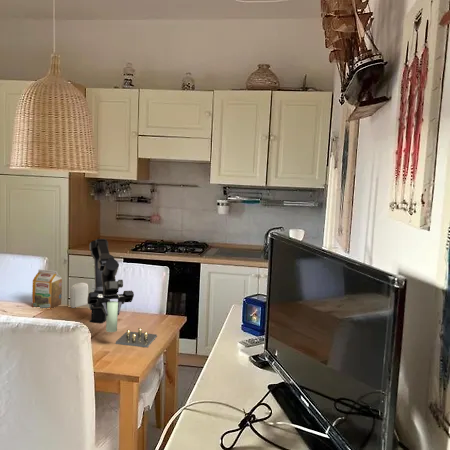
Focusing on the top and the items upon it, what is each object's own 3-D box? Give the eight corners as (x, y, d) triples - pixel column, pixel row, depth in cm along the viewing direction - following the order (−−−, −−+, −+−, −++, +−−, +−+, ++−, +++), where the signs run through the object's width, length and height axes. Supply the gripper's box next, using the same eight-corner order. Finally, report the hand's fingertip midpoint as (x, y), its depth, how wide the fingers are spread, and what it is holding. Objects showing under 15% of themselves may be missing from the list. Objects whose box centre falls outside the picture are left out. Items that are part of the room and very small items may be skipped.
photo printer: (74, 308, 249) (74, 285, 248) (68, 306, 251) (69, 283, 250) (89, 304, 258) (89, 282, 256) (83, 302, 260) (84, 280, 259)
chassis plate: (115, 343, 202) (115, 334, 202) (127, 333, 216) (127, 324, 216) (147, 347, 200) (147, 338, 200) (156, 336, 214) (157, 328, 214)
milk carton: (61, 304, 255) (62, 269, 253) (50, 309, 245) (51, 273, 243) (43, 302, 257) (44, 267, 255) (32, 307, 246) (32, 271, 244)
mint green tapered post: (104, 331, 198) (105, 303, 197) (107, 328, 202) (108, 300, 201) (115, 332, 198) (116, 304, 196) (118, 329, 202) (119, 301, 201)
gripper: (89, 273, 197) (92, 306, 188) (133, 272, 205) (138, 304, 196) (86, 287, 205) (88, 319, 196) (129, 285, 213) (133, 317, 204)
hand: (112, 315), depth 198 cm, fingers closed on mint green tapered post, 4 cm apart
